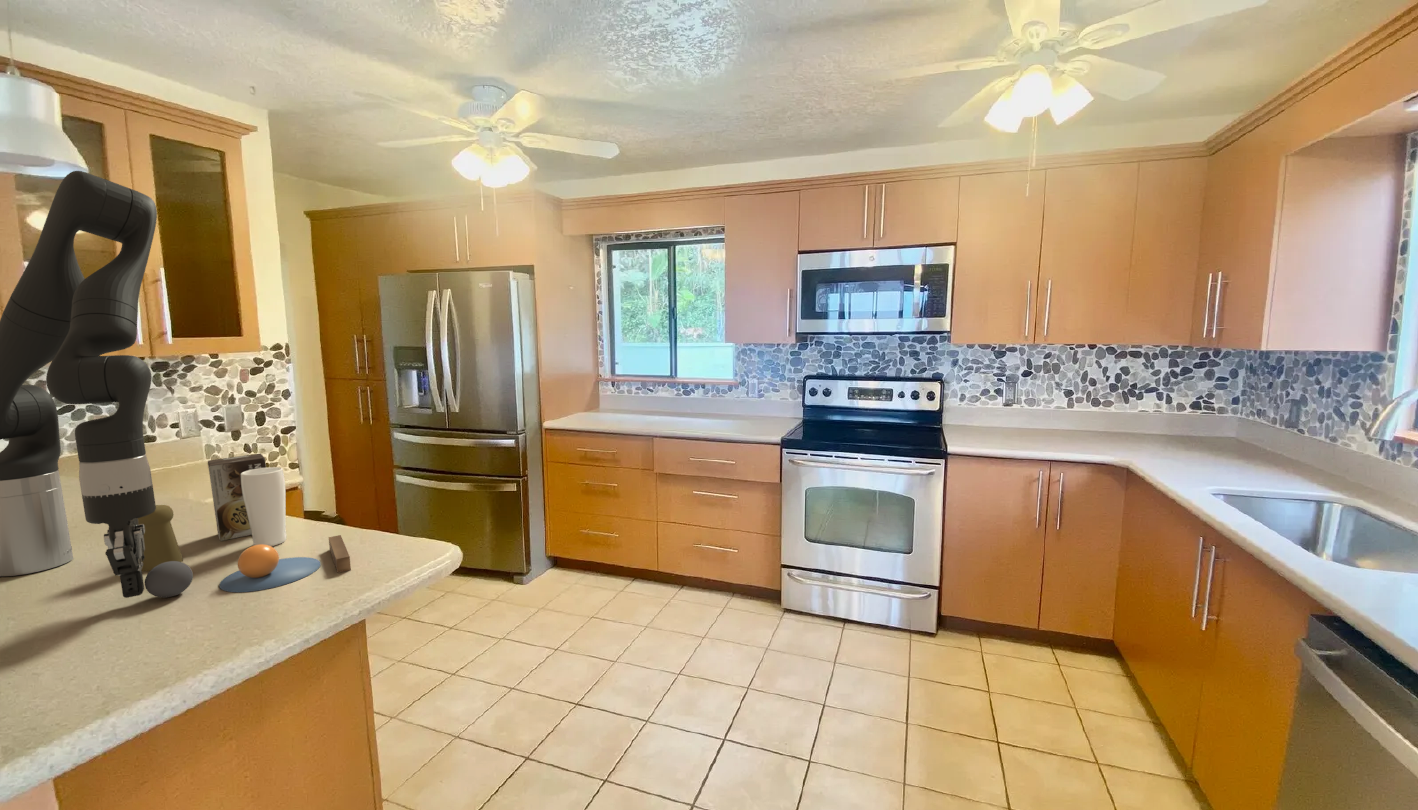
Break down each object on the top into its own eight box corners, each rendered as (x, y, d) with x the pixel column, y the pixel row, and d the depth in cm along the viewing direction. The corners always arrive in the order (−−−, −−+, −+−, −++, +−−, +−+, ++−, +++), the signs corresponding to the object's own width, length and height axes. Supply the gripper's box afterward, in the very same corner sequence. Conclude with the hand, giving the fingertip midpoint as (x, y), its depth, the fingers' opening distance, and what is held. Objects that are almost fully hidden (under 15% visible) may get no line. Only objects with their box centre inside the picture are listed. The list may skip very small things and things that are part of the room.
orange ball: (253, 543, 95) (287, 557, 98) (253, 535, 99) (285, 548, 102) (228, 574, 93) (264, 587, 96) (229, 564, 97) (263, 577, 100)
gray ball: (158, 560, 88) (199, 574, 91) (164, 551, 92) (203, 565, 95) (131, 594, 86) (173, 607, 89) (139, 583, 91) (179, 596, 94)
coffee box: (270, 523, 126) (262, 452, 124) (274, 530, 121) (266, 457, 119) (216, 534, 120) (206, 459, 118) (219, 541, 115) (209, 464, 113)
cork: (154, 572, 100) (145, 512, 99) (128, 570, 101) (119, 510, 100) (191, 559, 106) (184, 502, 105) (166, 557, 107) (158, 500, 106)
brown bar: (337, 572, 99) (336, 559, 99) (329, 549, 110) (328, 537, 110) (350, 569, 100) (349, 556, 100) (341, 547, 111) (340, 535, 111)
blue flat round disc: (217, 600, 89) (217, 599, 89) (221, 572, 100) (221, 570, 100) (323, 576, 98) (323, 574, 98) (317, 552, 109) (317, 551, 109)
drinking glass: (298, 540, 115) (290, 468, 113) (261, 551, 109) (252, 476, 107) (279, 535, 118) (271, 465, 116) (241, 546, 112) (232, 473, 110)
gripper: (145, 491, 83) (161, 602, 85) (158, 474, 93) (172, 574, 96) (70, 501, 79) (89, 618, 81) (92, 482, 89) (108, 587, 91)
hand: (134, 594), depth 88 cm, fingers closed
